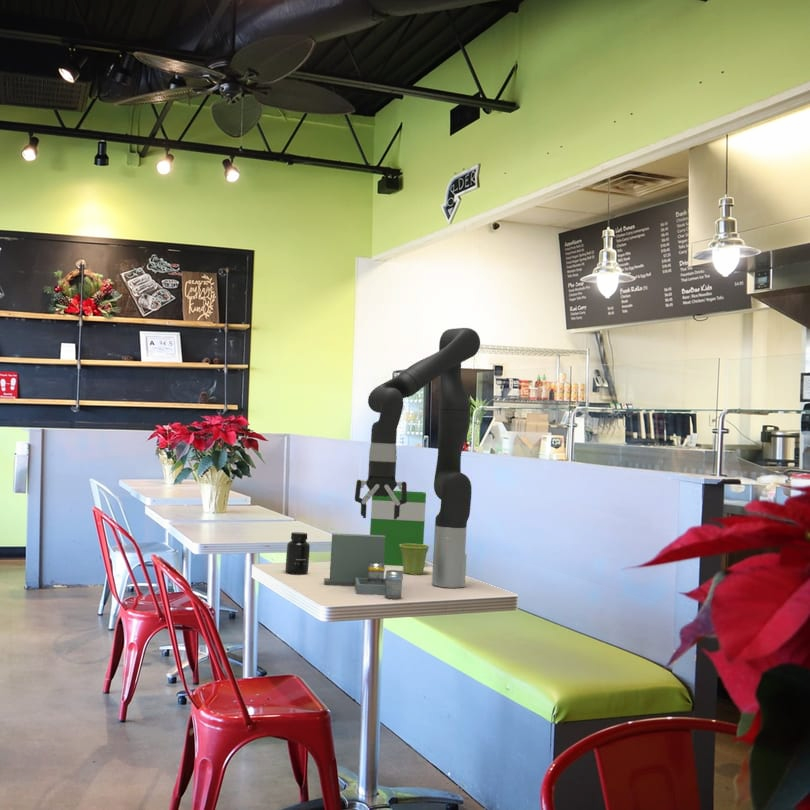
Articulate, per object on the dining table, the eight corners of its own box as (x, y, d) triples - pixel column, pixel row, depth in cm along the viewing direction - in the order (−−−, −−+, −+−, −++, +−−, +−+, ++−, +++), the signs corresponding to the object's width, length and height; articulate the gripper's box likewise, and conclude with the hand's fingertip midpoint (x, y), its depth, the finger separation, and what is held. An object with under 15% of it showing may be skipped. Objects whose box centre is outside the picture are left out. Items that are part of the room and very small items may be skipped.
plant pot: (401, 575, 281) (403, 547, 282) (395, 570, 291) (396, 543, 291) (431, 576, 284) (432, 547, 284) (423, 571, 293) (425, 543, 293)
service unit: (386, 584, 265) (389, 535, 265) (388, 587, 260) (390, 537, 260) (324, 581, 263) (326, 532, 263) (324, 584, 258) (327, 534, 258)
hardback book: (368, 564, 301) (372, 490, 301) (368, 560, 308) (372, 489, 309) (422, 567, 301) (426, 493, 302) (421, 563, 308) (425, 492, 309)
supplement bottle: (299, 575, 271) (301, 535, 271) (280, 572, 274) (282, 532, 274) (312, 573, 277) (314, 533, 277) (294, 570, 280) (296, 530, 281)
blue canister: (400, 596, 246) (402, 570, 246) (402, 600, 242) (403, 573, 242) (383, 596, 246) (385, 569, 246) (385, 599, 241) (386, 572, 241)
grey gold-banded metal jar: (384, 590, 251) (385, 564, 251) (367, 589, 250) (368, 564, 251) (382, 587, 255) (384, 562, 256) (366, 586, 255) (367, 561, 255)
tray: (393, 588, 259) (394, 579, 259) (397, 595, 248) (397, 586, 248) (354, 586, 258) (355, 577, 258) (356, 593, 247) (357, 584, 247)
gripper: (406, 460, 258) (404, 518, 258) (356, 458, 257) (353, 516, 256) (409, 461, 251) (406, 521, 250) (357, 459, 249) (354, 518, 249)
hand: (379, 518), depth 253 cm, fingers open, 8 cm apart
